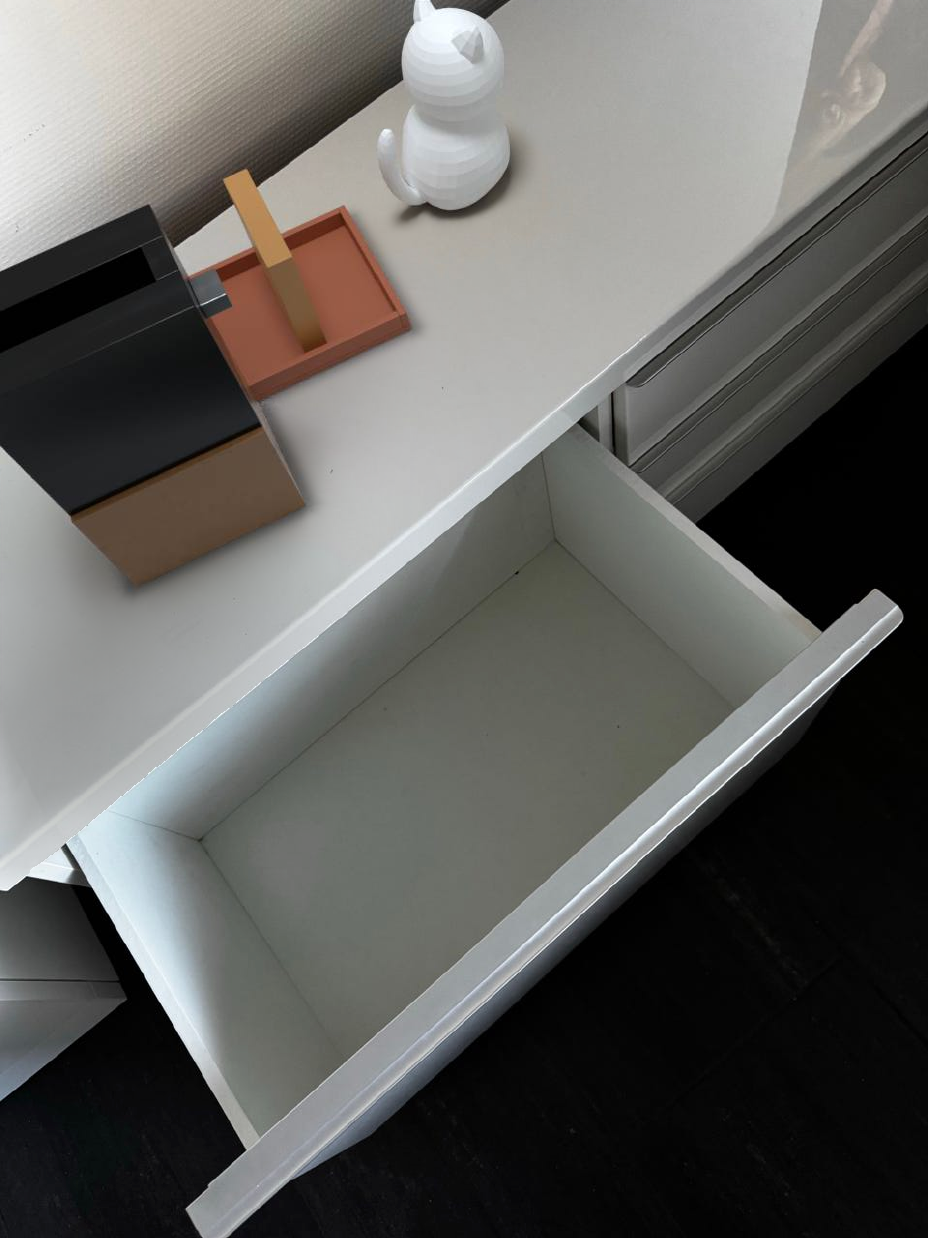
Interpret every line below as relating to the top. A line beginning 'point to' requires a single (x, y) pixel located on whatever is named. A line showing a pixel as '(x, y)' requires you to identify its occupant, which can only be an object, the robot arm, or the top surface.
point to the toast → (275, 260)
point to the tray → (338, 290)
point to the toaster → (134, 400)
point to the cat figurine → (448, 111)
